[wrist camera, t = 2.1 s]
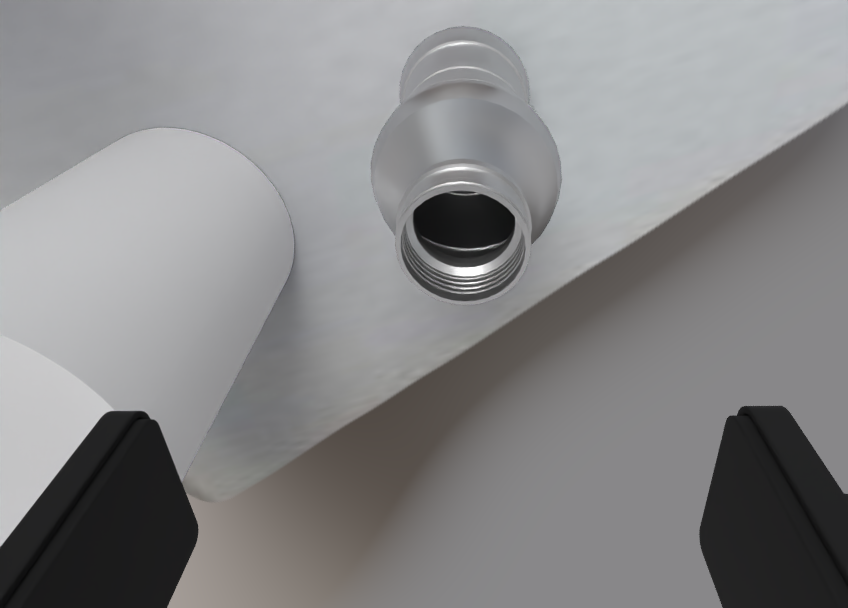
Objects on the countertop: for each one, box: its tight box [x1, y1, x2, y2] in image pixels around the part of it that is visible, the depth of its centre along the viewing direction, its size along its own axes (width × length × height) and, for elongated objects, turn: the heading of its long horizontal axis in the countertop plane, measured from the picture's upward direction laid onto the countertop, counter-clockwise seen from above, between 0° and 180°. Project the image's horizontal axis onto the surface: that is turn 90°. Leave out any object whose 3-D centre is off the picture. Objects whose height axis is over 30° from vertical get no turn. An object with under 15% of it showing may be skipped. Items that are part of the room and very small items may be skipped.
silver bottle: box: [371, 26, 562, 305], centre depth 25 cm, size 6×7×20 cm
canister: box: [0, 128, 294, 547], centre depth 31 cm, size 14×14×20 cm
